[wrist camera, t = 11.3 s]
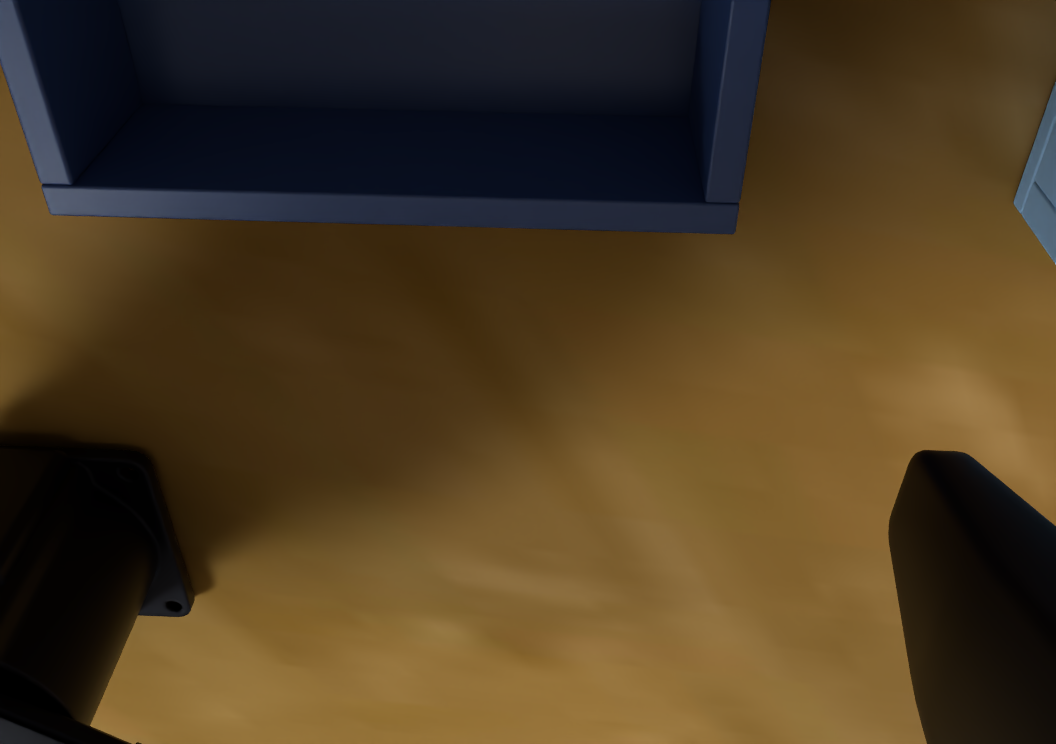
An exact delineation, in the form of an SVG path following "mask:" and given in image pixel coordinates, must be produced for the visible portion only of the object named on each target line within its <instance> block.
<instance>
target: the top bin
mask: <svg viewBox="0 0 1056 744" xmlns="http://www.w3.org/2000/svg"><path fill="white" fill-rule="evenodd" d="M1014 205H1015V207H1016V208H1017V209H1018V211H1019V212H1020V213H1021V214H1022V216H1023V218H1024V219H1025V221H1026V222H1027V224H1028V225H1029V227H1030V228H1031V230H1032V231H1033V232H1034V234H1035V235H1036V237H1037V238H1038V240H1039V241H1040V243H1041V244H1042V245H1043V247H1044V248H1045V250H1046V251H1047V253H1048V254H1049V256H1050V257H1051V258H1052V260H1053V261H1054V263H1055V264H1056V81H1055V84H1054V87H1053V90H1052V93H1051V96H1050V99H1049V101H1048V104H1047V107H1046V110H1045V113H1044V116H1043V119H1042V122H1041V124H1040V127H1039V130H1038V133H1037V136H1036V139H1035V142H1034V144H1033V147H1032V150H1031V153H1030V156H1029V159H1028V162H1027V165H1026V167H1025V170H1024V173H1023V176H1022V179H1021V182H1020V185H1019V188H1018V190H1017V193H1016V196H1015V199H1014Z"/></svg>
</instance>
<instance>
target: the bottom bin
mask: <svg viewBox="0 0 1056 744" xmlns="http://www.w3.org/2000/svg"><path fill="white" fill-rule="evenodd" d="M770 5H771V0H0V63H1V66H2V69H3V72H4V75H5V78H6V81H7V84H8V87H9V90H10V93H11V96H12V99H13V102H14V105H15V108H16V111H17V114H18V117H19V120H20V123H21V126H22V129H23V132H24V135H25V138H26V141H27V144H28V147H29V150H30V153H31V156H32V159H33V162H34V165H35V168H36V171H37V174H38V177H39V180H40V182H41V183H42V191H43V194H44V197H45V200H46V203H47V206H48V209H49V212H50V214H51V215H68V216H103V217H139V218H174V219H209V220H245V221H280V222H315V223H351V224H386V225H421V226H457V227H492V228H527V229H563V230H598V231H633V232H669V233H704V234H734V233H735V231H736V225H737V218H738V212H739V201H740V199H741V192H742V186H743V179H744V173H745V166H746V160H747V153H748V147H749V141H750V134H751V128H752V121H753V115H754V108H755V102H756V95H757V89H758V83H759V76H760V70H761V63H762V57H763V50H764V44H765V38H766V31H767V25H768V18H769V12H770Z"/></svg>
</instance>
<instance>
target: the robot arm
mask: <svg viewBox="0 0 1056 744" xmlns="http://www.w3.org/2000/svg"><path fill="white" fill-rule="evenodd" d="M130 468H132V469H134V470H131V469H130ZM888 533H889V546H890V552H891V558H892V564H893V570H894V576H895V582H896V589H897V595H898V601H899V607H900V613H901V619H902V625H903V631H904V638H905V644H906V650H907V656H908V662H909V668H910V674H911V679H912V685H913V690H914V695H915V700H916V704H917V708H918V712H919V716H920V720H921V724H922V728H923V731H924V735H925V738H926V742H927V744H1056V526H1055V525H1053V524H1052V523H1051V522H1050V521H1049V520H1047V519H1046V518H1045V517H1044V516H1043V515H1041V514H1040V513H1039V512H1038V511H1036V510H1035V509H1034V508H1033V507H1032V506H1030V505H1029V504H1028V503H1027V502H1026V501H1024V500H1023V499H1022V498H1021V497H1020V496H1018V495H1017V494H1016V493H1015V492H1014V491H1012V490H1011V489H1010V488H1009V487H1008V486H1006V485H1005V484H1004V483H1003V482H1002V481H1000V480H999V479H998V478H997V477H995V476H994V475H993V474H992V473H991V472H989V471H988V470H987V469H986V468H985V467H983V466H982V465H981V464H980V463H979V462H977V461H976V460H975V459H974V458H972V457H971V456H969V455H968V454H966V453H963V452H958V451H935V450H923V451H920V452H917V453H916V454H915V455H914V456H913V457H912V459H911V460H910V462H909V465H908V467H907V470H906V473H905V476H904V479H903V482H902V484H901V487H900V490H899V493H898V496H897V499H896V501H895V504H894V507H893V510H892V513H891V516H890V521H889V532H888ZM193 603H194V593H193V590H192V587H191V584H190V581H189V578H188V574H187V571H186V568H185V565H184V562H183V559H182V556H181V552H180V549H179V546H178V543H177V540H176V537H175V534H174V530H173V527H172V524H171V521H170V518H169V515H168V511H167V508H166V505H165V502H164V499H163V496H162V493H161V489H160V486H159V483H158V480H157V477H156V474H155V470H154V467H153V464H152V463H151V461H150V459H149V458H148V457H146V456H145V455H144V454H142V453H140V452H138V451H133V450H116V449H88V448H60V447H31V446H3V445H0V744H131V743H129V742H126V741H124V740H121V739H119V738H117V737H114V736H112V735H110V734H107V733H105V732H103V731H100V730H98V729H95V728H93V727H91V726H90V724H91V722H92V720H93V717H94V715H95V713H96V711H97V708H98V706H99V704H100V701H101V699H102V697H103V694H104V692H105V690H106V687H107V685H108V683H109V680H110V678H111V676H112V674H113V671H114V669H115V667H116V664H117V662H118V660H119V657H120V655H121V653H122V650H123V648H124V646H125V644H126V641H127V639H128V637H129V634H130V632H131V630H132V627H133V625H134V623H135V620H136V618H137V616H138V615H144V616H168V617H182V616H185V615H187V614H189V612H190V611H191V608H192V605H193ZM136 744H141V743H139V742H137V743H136Z"/></svg>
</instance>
